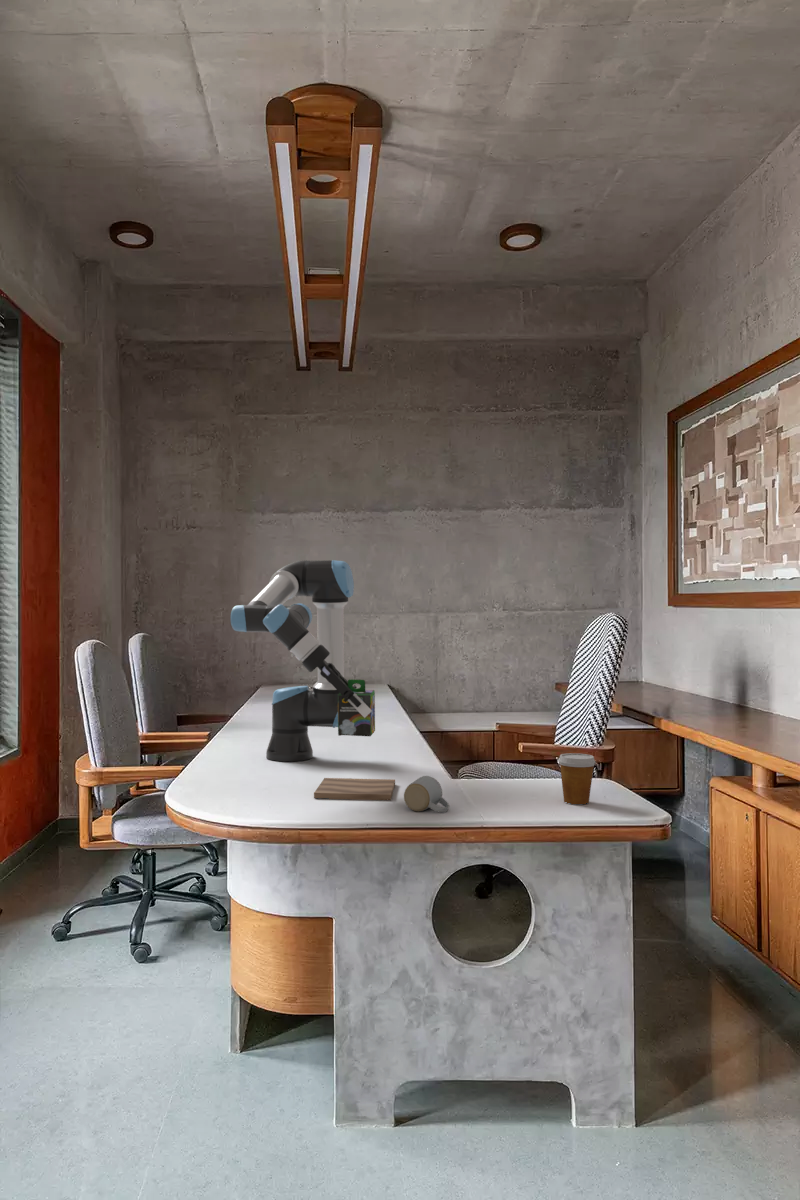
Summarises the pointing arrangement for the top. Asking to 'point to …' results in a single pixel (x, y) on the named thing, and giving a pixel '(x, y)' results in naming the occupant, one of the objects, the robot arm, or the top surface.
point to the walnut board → (355, 789)
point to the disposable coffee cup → (576, 777)
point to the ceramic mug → (425, 795)
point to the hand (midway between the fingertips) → (368, 711)
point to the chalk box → (356, 712)
